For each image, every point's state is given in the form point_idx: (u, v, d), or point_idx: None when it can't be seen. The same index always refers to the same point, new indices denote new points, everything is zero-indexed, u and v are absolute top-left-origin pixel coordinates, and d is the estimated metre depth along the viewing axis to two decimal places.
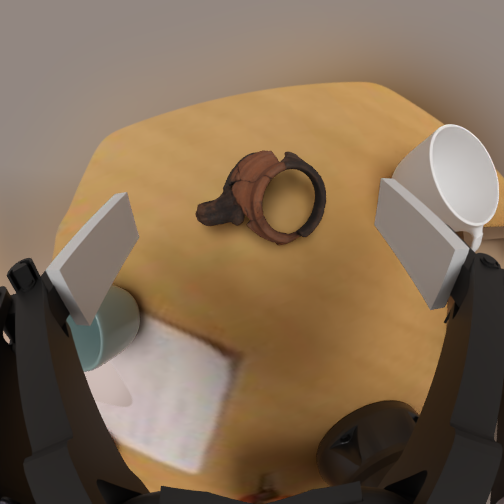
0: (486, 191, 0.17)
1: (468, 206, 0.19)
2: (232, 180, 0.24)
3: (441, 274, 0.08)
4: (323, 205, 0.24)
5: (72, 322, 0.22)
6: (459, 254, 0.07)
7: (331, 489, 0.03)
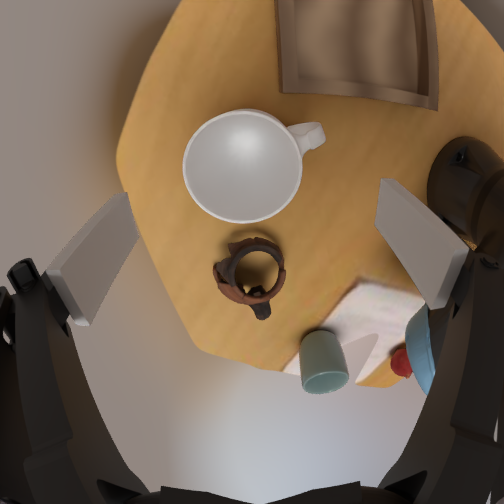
0: (255, 118, 0.18)
1: (269, 129, 0.21)
2: None
3: (441, 274, 0.08)
4: (258, 247, 0.32)
5: (321, 374, 0.43)
6: (459, 254, 0.07)
7: (331, 489, 0.03)
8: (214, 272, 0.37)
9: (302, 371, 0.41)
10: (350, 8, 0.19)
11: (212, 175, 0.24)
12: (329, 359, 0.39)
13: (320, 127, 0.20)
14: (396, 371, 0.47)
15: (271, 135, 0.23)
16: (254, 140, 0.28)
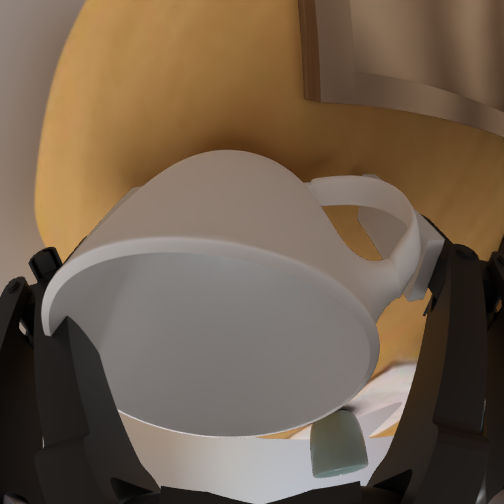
0: None
1: None
2: None
3: None
4: None
5: None
6: (434, 245, 0.08)
7: (331, 489, 0.03)
8: None
9: (313, 461, 0.28)
10: None
11: (153, 312, 0.11)
12: (347, 452, 0.26)
13: (416, 220, 0.07)
14: None
15: None
16: None
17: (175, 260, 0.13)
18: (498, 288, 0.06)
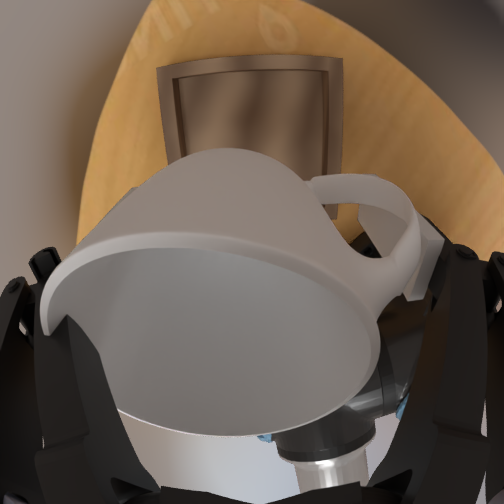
0: None
1: None
2: None
3: None
4: None
5: None
6: (434, 245, 0.08)
7: (331, 489, 0.03)
8: None
9: None
10: (244, 120, 0.27)
11: (153, 311, 0.11)
12: None
13: (416, 217, 0.07)
14: None
15: None
16: None
17: (175, 259, 0.13)
18: (498, 288, 0.06)
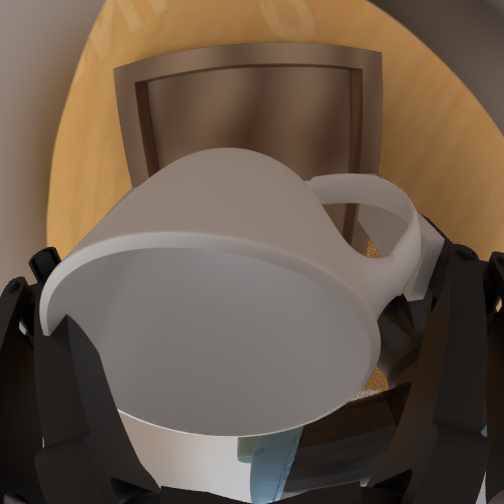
0: None
1: None
2: None
3: None
4: None
5: None
6: (434, 245, 0.08)
7: (331, 489, 0.03)
8: None
9: None
10: (240, 138, 0.19)
11: (153, 311, 0.11)
12: None
13: (417, 217, 0.07)
14: None
15: None
16: None
17: (175, 259, 0.13)
18: (498, 288, 0.06)
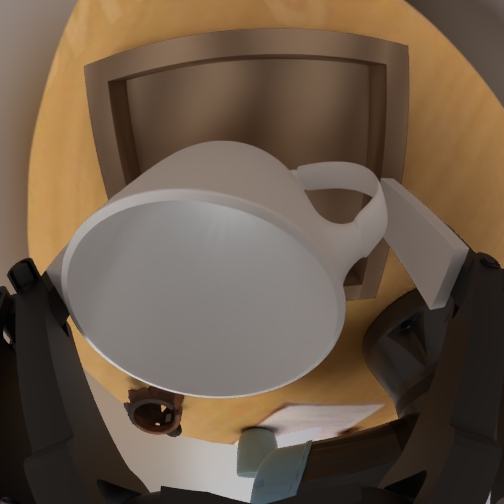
0: None
1: None
2: None
3: (441, 274, 0.08)
4: (149, 401, 0.30)
5: None
6: (459, 254, 0.07)
7: (331, 489, 0.03)
8: (129, 399, 0.35)
9: (237, 464, 0.39)
10: None
11: (156, 284, 0.12)
12: (258, 461, 0.37)
13: (381, 192, 0.08)
14: None
15: None
16: None
17: (176, 240, 0.15)
18: None
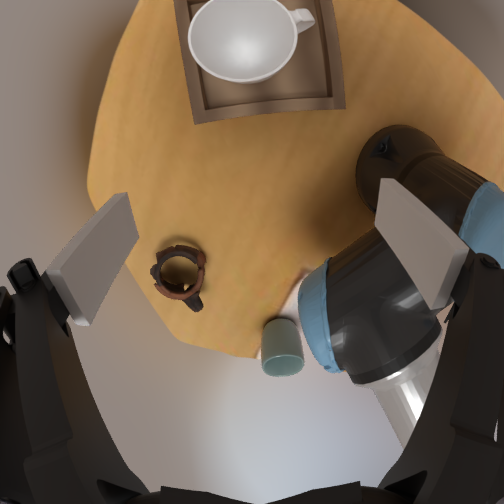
0: (249, 1, 0.15)
1: (263, 15, 0.18)
2: None
3: (441, 274, 0.08)
4: (175, 253, 0.39)
5: (282, 359, 0.50)
6: (459, 254, 0.07)
7: (331, 489, 0.03)
8: None
9: (261, 355, 0.48)
10: None
11: (215, 62, 0.21)
12: (282, 344, 0.46)
13: (307, 9, 0.17)
14: None
15: (266, 27, 0.20)
16: (252, 48, 0.25)
17: (222, 60, 0.23)
18: None
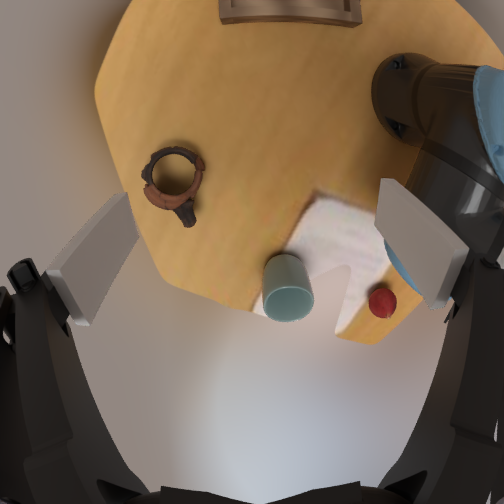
0: None
1: None
2: (166, 209, 0.37)
3: (441, 274, 0.08)
4: (172, 149, 0.33)
5: (286, 301, 0.44)
6: (459, 254, 0.07)
7: (331, 489, 0.03)
8: (145, 186, 0.38)
9: (263, 292, 0.42)
10: None
11: None
12: (289, 275, 0.40)
13: None
14: (374, 311, 0.48)
15: None
16: None
17: None
18: None
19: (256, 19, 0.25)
